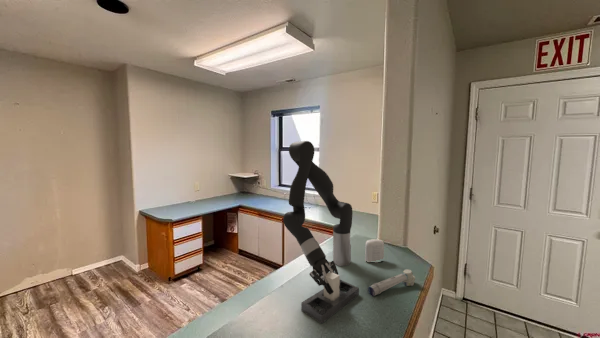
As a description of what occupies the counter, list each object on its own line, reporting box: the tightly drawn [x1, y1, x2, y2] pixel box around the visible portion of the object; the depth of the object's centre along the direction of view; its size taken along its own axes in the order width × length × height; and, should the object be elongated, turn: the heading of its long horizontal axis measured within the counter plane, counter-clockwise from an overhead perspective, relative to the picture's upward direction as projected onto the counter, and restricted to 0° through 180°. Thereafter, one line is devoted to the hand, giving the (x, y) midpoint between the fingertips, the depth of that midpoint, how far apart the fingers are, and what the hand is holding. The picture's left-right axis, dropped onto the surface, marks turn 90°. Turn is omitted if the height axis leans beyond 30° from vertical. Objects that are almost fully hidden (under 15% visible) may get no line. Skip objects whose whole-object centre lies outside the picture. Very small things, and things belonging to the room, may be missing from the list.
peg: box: [323, 272, 341, 301], centre depth 93 cm, size 4×4×10 cm
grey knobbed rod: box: [366, 269, 416, 297], centre depth 103 cm, size 5×7×25 cm
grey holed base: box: [300, 279, 360, 324], centre depth 93 cm, size 24×10×3 cm, turn 135°
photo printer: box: [364, 238, 385, 263], centre depth 129 cm, size 10×4×12 cm, turn 98°
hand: (335, 290), depth 92 cm, fingers closed on peg, 4 cm apart
